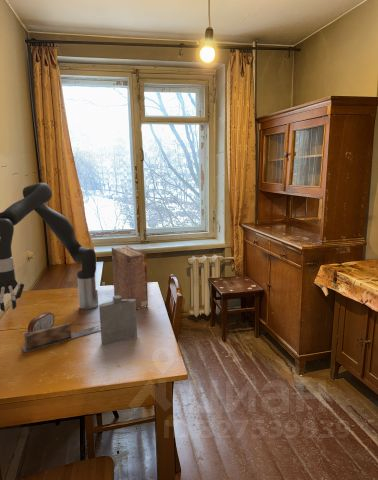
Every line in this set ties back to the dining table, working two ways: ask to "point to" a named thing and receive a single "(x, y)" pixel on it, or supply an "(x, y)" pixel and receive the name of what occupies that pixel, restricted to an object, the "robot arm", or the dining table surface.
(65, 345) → the dining table surface
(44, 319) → the tin
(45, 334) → the brown wooden block
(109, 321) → the hip flask
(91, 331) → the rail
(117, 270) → the book
